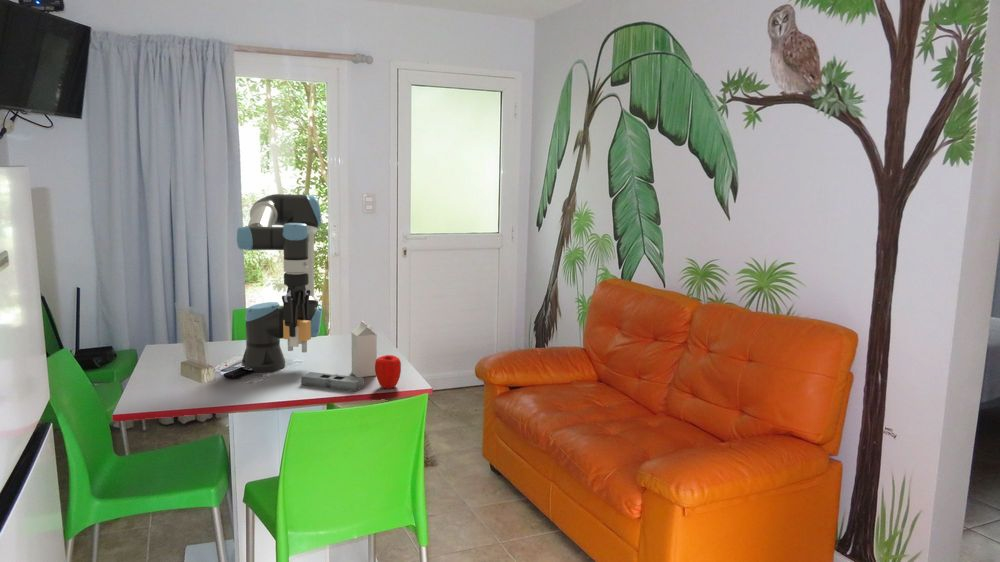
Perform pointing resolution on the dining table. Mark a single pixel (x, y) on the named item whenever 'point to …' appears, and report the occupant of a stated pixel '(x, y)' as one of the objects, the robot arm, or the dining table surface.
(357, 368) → the milk carton
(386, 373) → the apple
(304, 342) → the clip
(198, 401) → the dining table surface
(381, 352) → the dining table surface
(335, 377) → the grey flat block
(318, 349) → the dining table surface
